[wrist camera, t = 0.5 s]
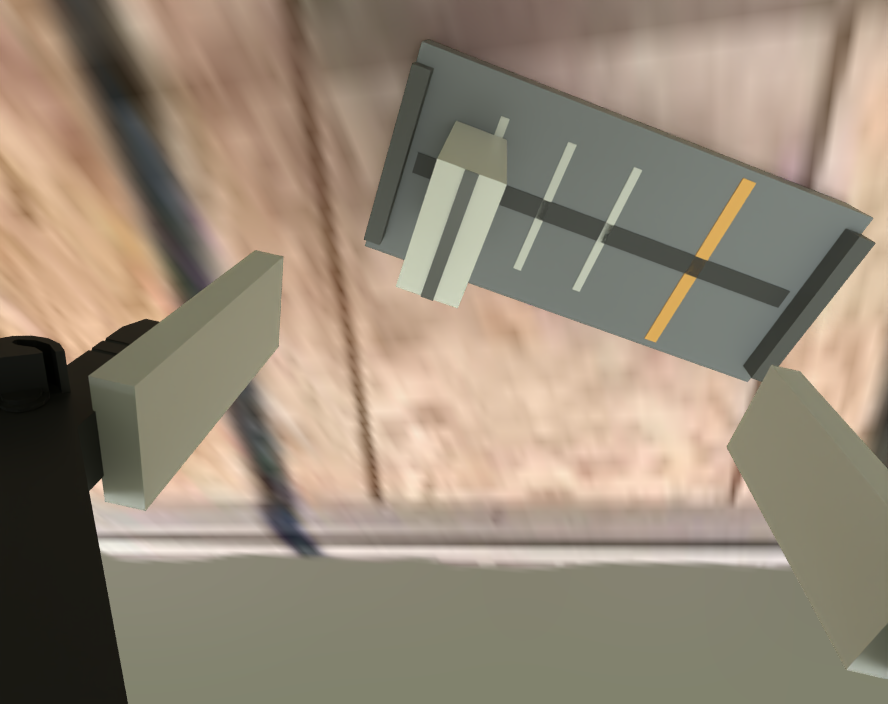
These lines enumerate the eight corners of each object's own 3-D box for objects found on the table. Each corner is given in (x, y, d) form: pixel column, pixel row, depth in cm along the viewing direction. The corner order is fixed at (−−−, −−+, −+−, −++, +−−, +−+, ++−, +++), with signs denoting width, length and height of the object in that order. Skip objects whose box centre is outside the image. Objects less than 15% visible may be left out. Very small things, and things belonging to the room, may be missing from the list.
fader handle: (456, 120, 31) (437, 159, 23) (507, 140, 31) (506, 185, 23) (423, 220, 34) (395, 287, 26) (469, 237, 34) (457, 309, 26)
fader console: (428, 39, 32) (418, 42, 28) (846, 203, 35) (888, 226, 31) (374, 230, 38) (359, 254, 34) (732, 358, 41) (755, 394, 37)
